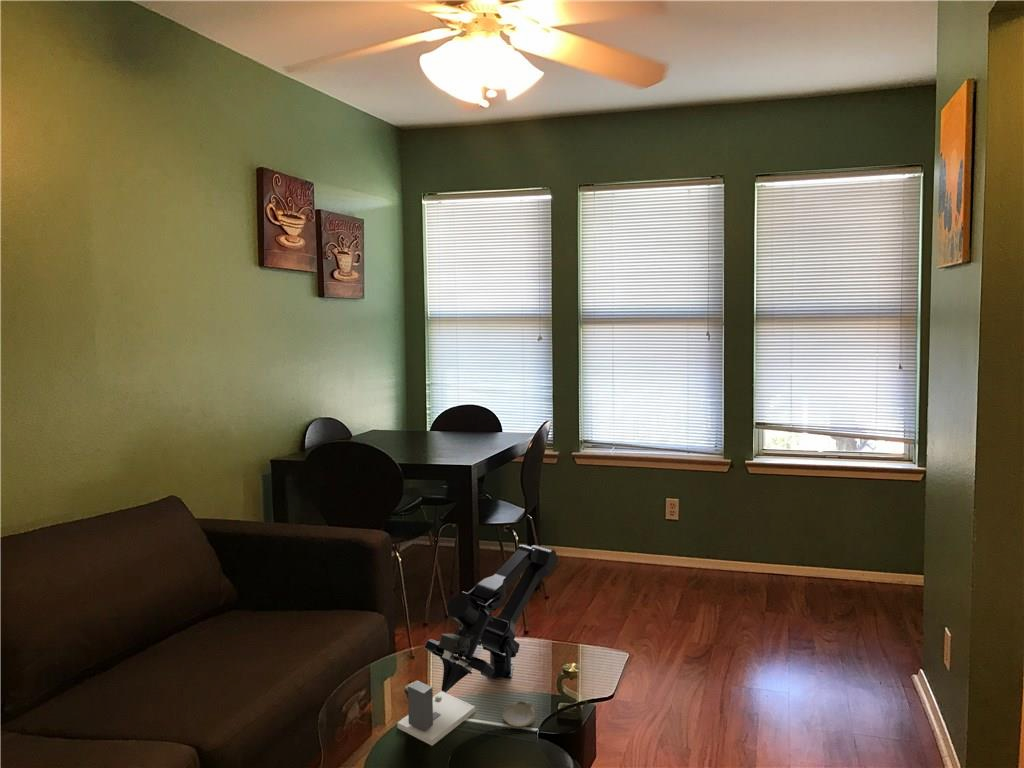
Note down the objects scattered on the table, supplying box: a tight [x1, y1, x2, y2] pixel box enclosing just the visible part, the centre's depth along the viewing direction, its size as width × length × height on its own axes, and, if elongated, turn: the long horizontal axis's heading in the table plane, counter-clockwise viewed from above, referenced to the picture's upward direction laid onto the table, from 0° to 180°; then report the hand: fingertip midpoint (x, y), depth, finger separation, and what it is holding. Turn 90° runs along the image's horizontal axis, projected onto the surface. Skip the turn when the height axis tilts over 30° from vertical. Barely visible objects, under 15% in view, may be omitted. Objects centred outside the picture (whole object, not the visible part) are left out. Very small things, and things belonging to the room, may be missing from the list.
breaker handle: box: [407, 679, 434, 732], centre depth 191 cm, size 3×5×10 cm, turn 54°
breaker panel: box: [397, 690, 476, 747], centre depth 197 cm, size 16×11×2 cm
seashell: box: [502, 700, 536, 728], centre depth 198 cm, size 8×3×8 cm
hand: (443, 691), depth 198 cm, fingers closed
